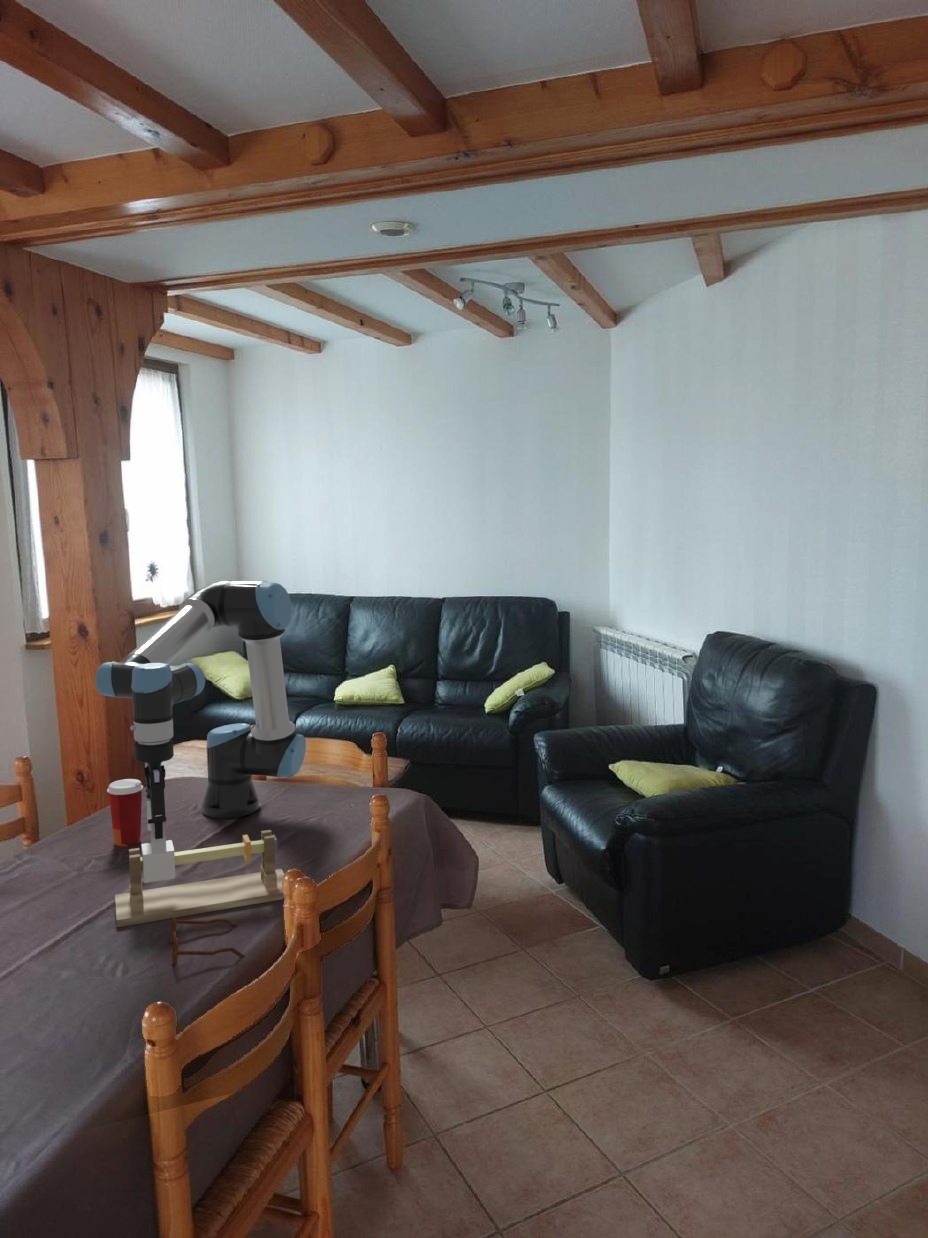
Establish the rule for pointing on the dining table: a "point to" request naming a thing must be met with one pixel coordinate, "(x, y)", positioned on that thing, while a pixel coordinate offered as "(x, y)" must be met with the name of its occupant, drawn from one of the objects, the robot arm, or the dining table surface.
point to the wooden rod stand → (198, 891)
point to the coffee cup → (126, 811)
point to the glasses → (175, 945)
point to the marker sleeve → (158, 863)
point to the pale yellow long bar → (220, 852)
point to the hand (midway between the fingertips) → (156, 841)
